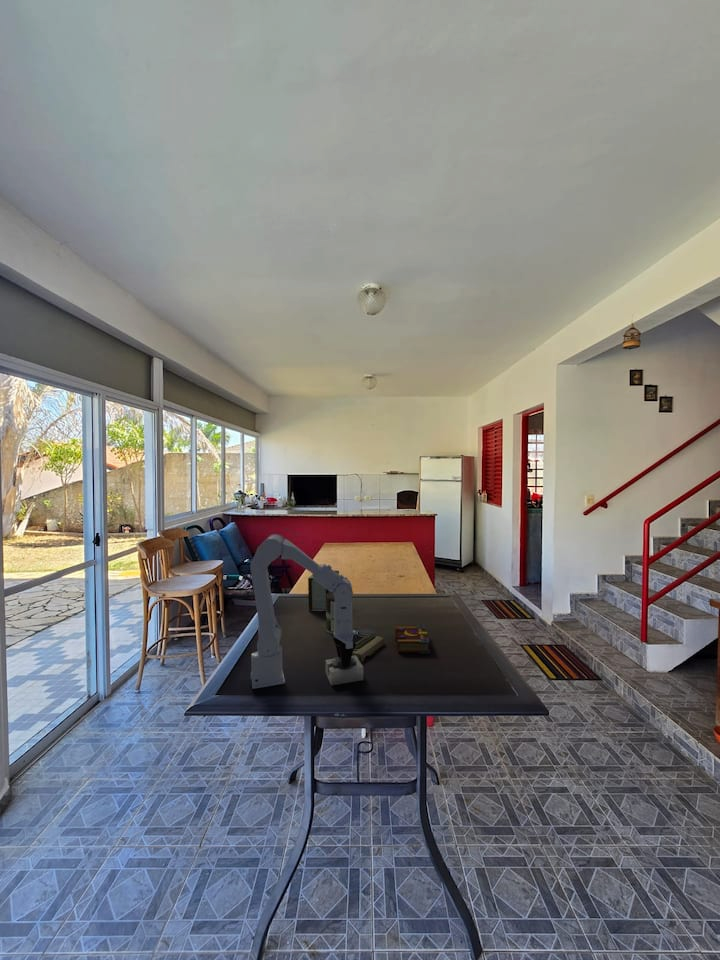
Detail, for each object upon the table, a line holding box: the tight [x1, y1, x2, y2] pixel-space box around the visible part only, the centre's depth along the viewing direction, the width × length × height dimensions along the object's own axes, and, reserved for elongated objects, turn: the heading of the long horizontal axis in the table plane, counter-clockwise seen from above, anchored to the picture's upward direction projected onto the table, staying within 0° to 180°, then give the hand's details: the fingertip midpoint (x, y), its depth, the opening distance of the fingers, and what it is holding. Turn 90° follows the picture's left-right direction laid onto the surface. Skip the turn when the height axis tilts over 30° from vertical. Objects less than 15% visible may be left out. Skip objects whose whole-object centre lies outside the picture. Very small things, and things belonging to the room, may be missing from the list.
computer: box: [352, 635, 386, 663], centre depth 139 cm, size 16×8×3 cm, turn 147°
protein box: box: [307, 570, 340, 611], centre depth 186 cm, size 10×15×16 cm
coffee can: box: [325, 592, 335, 635], centre depth 158 cm, size 10×10×14 cm
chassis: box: [325, 655, 364, 686], centre depth 122 cm, size 10×8×4 cm
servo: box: [331, 656, 357, 668], centre depth 122 cm, size 8×3×6 cm, turn 107°
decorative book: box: [394, 624, 431, 655], centre depth 144 cm, size 11×16×5 cm
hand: (343, 662), depth 122 cm, fingers open, 4 cm apart
